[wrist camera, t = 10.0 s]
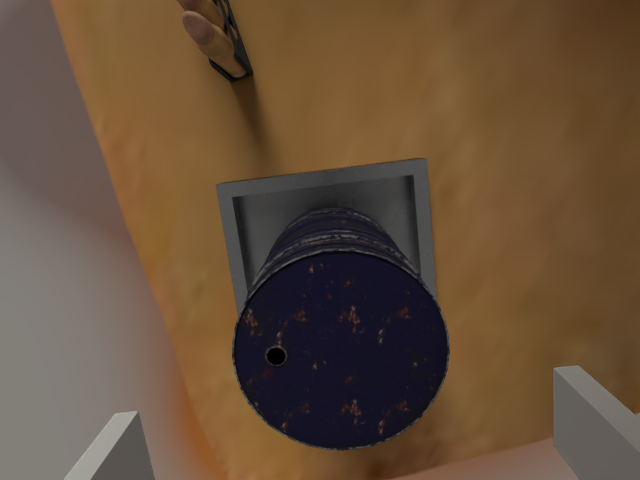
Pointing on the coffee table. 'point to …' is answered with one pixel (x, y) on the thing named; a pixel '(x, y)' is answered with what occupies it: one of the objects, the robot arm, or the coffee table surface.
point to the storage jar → (339, 334)
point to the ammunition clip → (217, 36)
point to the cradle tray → (323, 190)
